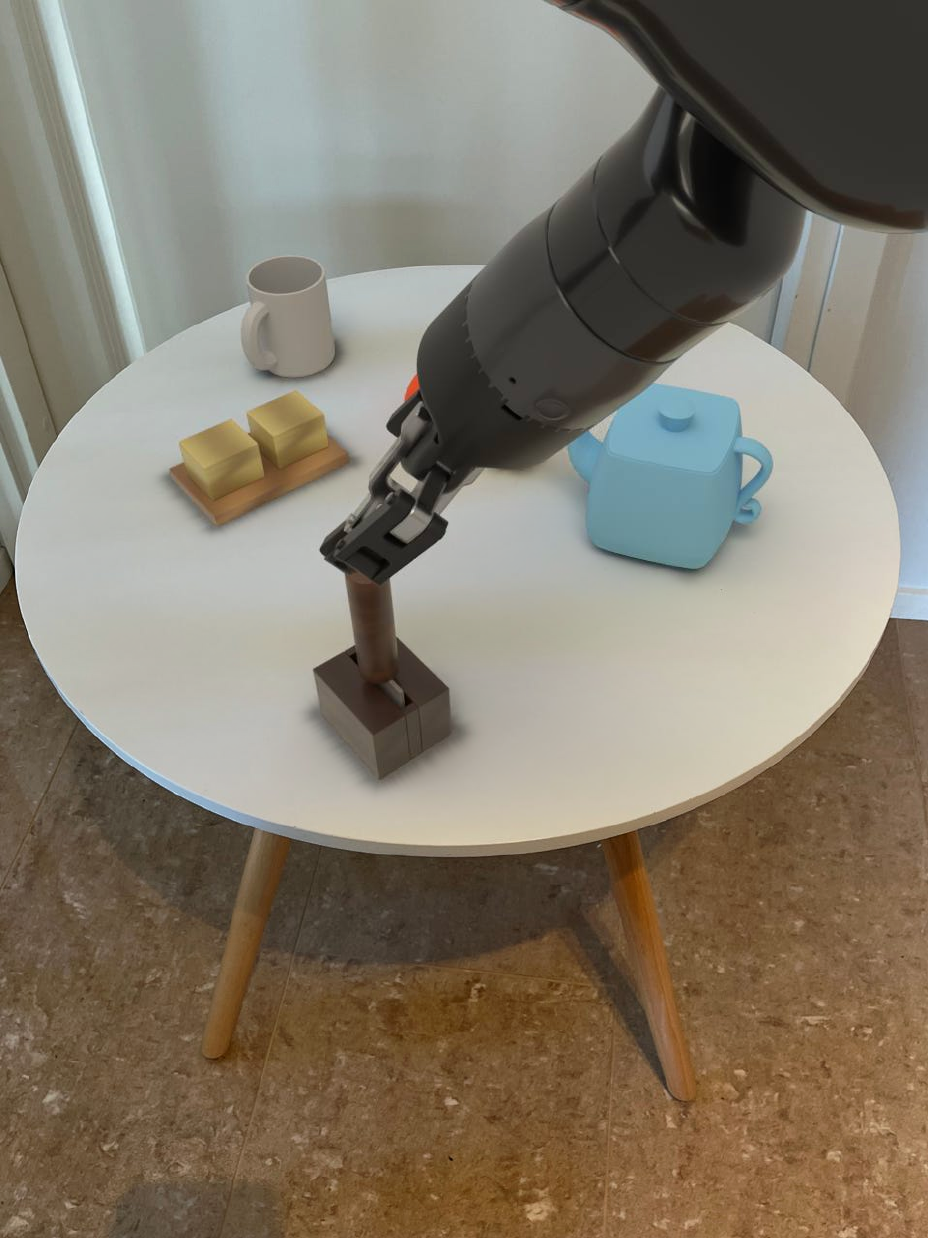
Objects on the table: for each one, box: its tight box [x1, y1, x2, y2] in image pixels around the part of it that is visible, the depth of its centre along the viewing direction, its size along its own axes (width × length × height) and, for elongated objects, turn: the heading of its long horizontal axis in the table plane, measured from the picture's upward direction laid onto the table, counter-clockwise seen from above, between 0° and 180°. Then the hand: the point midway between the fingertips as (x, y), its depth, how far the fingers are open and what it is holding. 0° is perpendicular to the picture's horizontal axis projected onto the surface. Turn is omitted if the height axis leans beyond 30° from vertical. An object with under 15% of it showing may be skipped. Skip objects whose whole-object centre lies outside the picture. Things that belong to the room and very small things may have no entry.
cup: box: [240, 254, 336, 379], centre depth 99 cm, size 7×10×9 cm
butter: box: [169, 389, 350, 527], centre depth 90 cm, size 13×8×5 cm, turn 128°
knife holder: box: [312, 635, 452, 781], centre depth 70 cm, size 6×7×5 cm
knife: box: [343, 572, 405, 711], centre depth 67 cm, size 3×5×15 cm, turn 38°
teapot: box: [566, 382, 774, 570], centre depth 82 cm, size 12×18×12 cm
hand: (370, 494), depth 54 cm, fingers open, 8 cm apart
